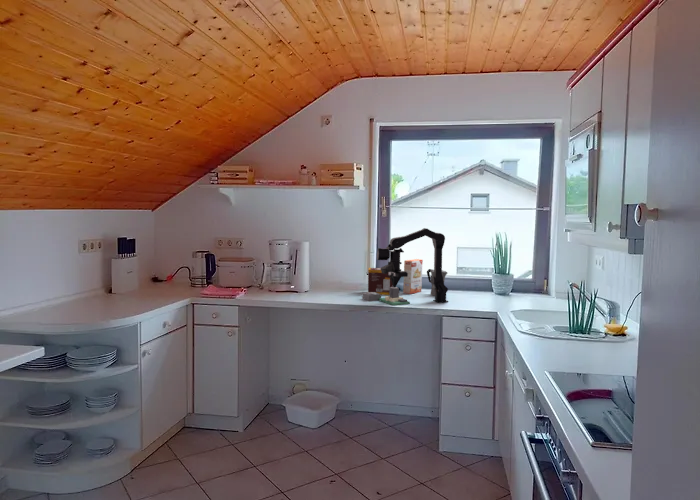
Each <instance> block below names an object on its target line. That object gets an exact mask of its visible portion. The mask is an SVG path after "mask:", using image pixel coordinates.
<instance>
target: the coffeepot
mask: <svg viewBox="0 0 700 500" xmlns="http://www.w3.org/2000/svg"><path fill="white" fill-rule="evenodd" d="M426 274H427V279H428V282H429V283H430V281H431V276H433V274H434V269H431V268H429V269H427V271H426ZM447 275H448V272H447V271H446V270H443V269H442V276H443V279H444V282H445V281H446V280H445V279H446V276H447ZM430 296H433V297H435V289H434V287H433V286H432V285H431V289H430Z"/></svg>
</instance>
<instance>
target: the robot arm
mask: <svg viewBox="0 0 700 500" xmlns="http://www.w3.org/2000/svg"><path fill="white" fill-rule="evenodd" d="M425 236H426V237H427V238H429V239H431V240H432V246H433V248H434V253H433V261H434V262H433V263H434V264H433V270H434V274H433V276H431V275H430V280H431V281H430V282H429V283H431V287H432V286H433V287H434V289H435V296H434V299H433V300H432V301H433V302H436V303H439V304H440V303H449V301H448V300H447V293H448V290H449V288H448V287H447V286H446V285H445V281H444V279H443V276H442V270H443V248H444V246H445V241H446V237H445V235H444V234H443V233H440V232H435V231H432V230H430V229H429V228H425V227H424V228H422V229H420V230H417V231H414V232H412V233H409V234H406V235H403V236H397V237H393V238H390V240H389V244H388V245H387V246H386V247H385V248H380V247H378V248H377V251H376V260H377V261H388V260H389V261H388V262H387V264H386V265H383V266H381V267H380V268H381V272H382V273H384V274H387V273H389V275H388V276H389V277H390V278H391V281H392V284H393V287H397V285H398V284H399V281H400V279H401V278H404V277H408V273H407V272H406V271H404V270H402V269H401V265H402V262H401V253H405V251H404V250H403V249H402V247H403V246H405V245H406V244H407V243H410V242H412V241H415V240H418V239H420V238H423V237H425Z"/></svg>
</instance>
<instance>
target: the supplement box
mask: <svg viewBox="0 0 700 500" xmlns="http://www.w3.org/2000/svg"><path fill="white" fill-rule="evenodd" d="M367 273H368V274H367V292H376V293H379V294H381V296H389V288H390V287H393V284H392V281H391V278H390V277H389V276H388V275H389V273H387V274H384V273H382V272H381V267H368V271H367Z"/></svg>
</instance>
